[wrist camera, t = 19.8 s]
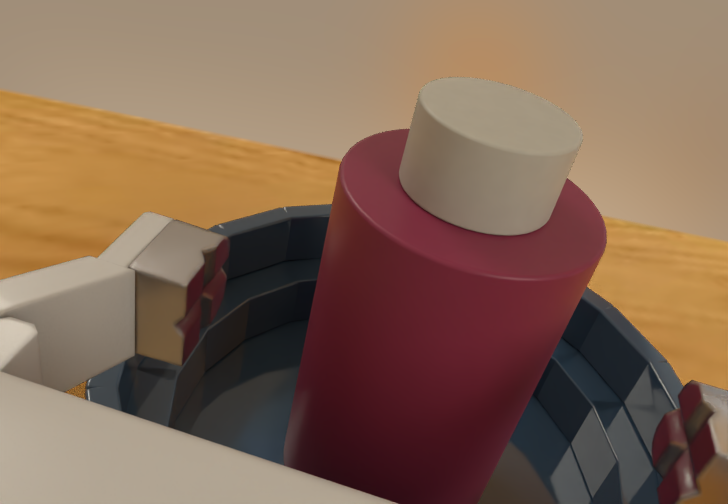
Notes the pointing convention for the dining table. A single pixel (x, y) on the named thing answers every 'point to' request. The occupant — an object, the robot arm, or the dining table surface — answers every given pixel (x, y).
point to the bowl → (284, 352)
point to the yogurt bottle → (441, 293)
